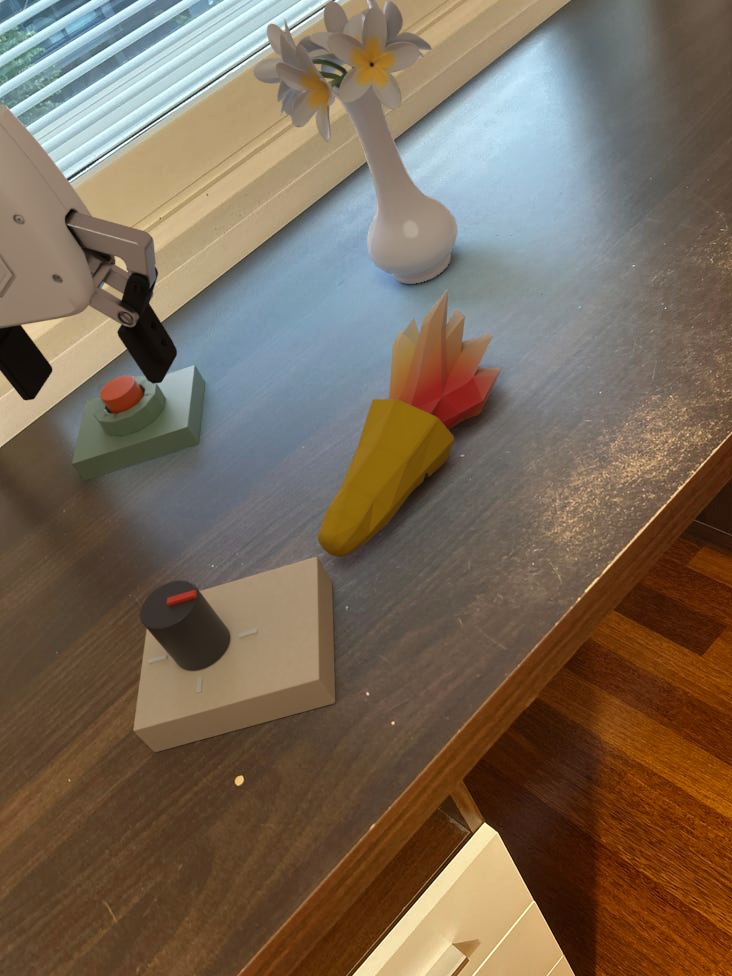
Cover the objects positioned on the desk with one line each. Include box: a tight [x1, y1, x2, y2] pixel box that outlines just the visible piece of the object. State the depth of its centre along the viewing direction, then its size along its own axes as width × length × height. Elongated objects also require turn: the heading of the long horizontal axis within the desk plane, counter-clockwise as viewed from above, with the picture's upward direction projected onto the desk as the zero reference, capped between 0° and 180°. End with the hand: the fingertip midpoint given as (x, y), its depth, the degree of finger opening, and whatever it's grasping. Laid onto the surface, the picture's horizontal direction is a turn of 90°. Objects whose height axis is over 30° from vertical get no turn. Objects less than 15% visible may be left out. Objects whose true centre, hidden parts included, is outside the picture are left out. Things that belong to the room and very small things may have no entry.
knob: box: [139, 579, 230, 671], centre depth 73 cm, size 4×4×5 cm
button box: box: [71, 364, 206, 481], centre depth 99 cm, size 12×10×4 cm
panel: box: [132, 556, 336, 753], centre depth 75 cm, size 14×12×3 cm
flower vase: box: [252, 0, 459, 285], centre depth 95 cm, size 13×18×25 cm
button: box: [99, 374, 144, 414], centre depth 97 cm, size 4×4×2 cm
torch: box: [317, 288, 503, 558], centre depth 82 cm, size 8×8×25 cm
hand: (101, 377), depth 65 cm, fingers open, 9 cm apart
